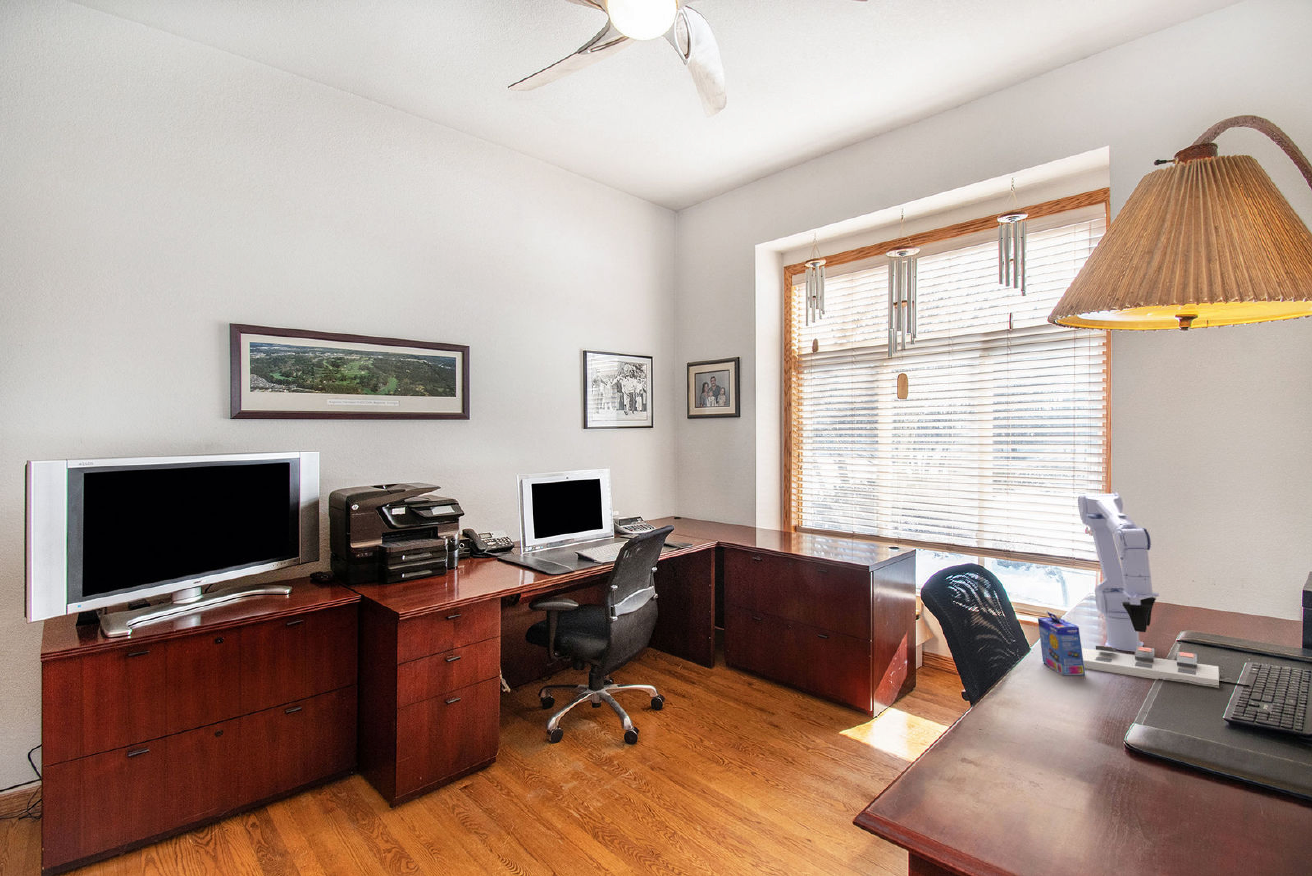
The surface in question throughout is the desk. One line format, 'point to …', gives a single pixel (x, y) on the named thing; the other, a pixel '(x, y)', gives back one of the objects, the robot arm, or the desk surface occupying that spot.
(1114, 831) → the desk surface
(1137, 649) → the rocker middle
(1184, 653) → the block
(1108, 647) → the rocker far end
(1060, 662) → the ink cartridge box
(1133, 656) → the power strip
